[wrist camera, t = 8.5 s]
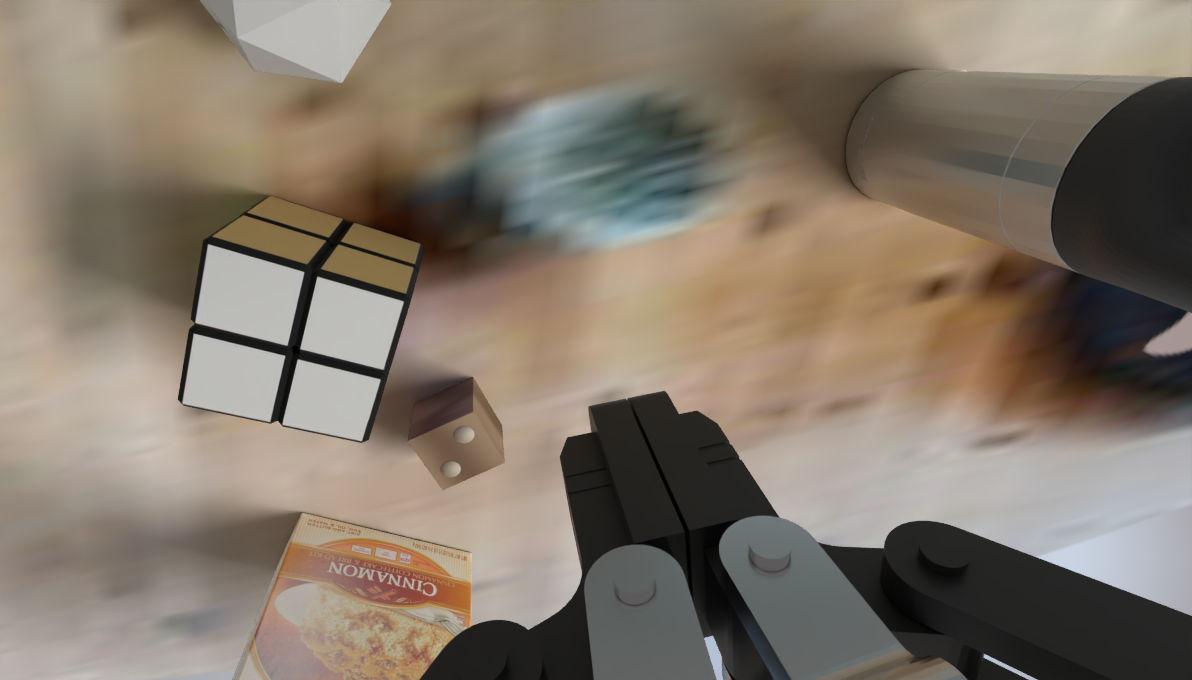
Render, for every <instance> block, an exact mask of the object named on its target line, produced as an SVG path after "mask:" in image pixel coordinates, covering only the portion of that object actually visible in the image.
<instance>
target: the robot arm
mask: <svg viewBox="0 0 1192 680" xmlns="http://www.w3.org/2000/svg"><path fill="white" fill-rule="evenodd" d="M846 164H847V168H848V172H849V175H850V177H851V179H852V181H853V183H854V185H855V186H856V187H857V188H858V189H859V190H860V191H861V192H862V193H863V194H865V195H866V196H868V197H869V198H872V199H875V200H877V201H880V202H883V203H886V204H888V205H891V206H894V207H897V208H899V209H902V210H904V211H907V212H910V213H912V214H915V215H918V216H921V217H923V218H926V219H929V220H932V221H935V222H937V223H940V224H943V225H946V226H949V227H951V228H954V229H957V230H960V231H962V232H965V233H968V234H971V235H974V236H976V237H979V238H982V239H985V240H987V241H990V242H993V243H996V244H999V245H1001V246H1004V247H1007V248H1010V249H1012V250H1015V251H1018V252H1021V253H1024V254H1026V255H1029V256H1033V257H1036V258H1038V259H1041V260H1044V261H1047V262H1050V263H1052V264H1055V265H1058V266H1061V267H1063V268H1066V269H1069V270H1072V271H1075V272H1077V273H1080V274H1083V275H1086V276H1089V277H1092V278H1095V279H1098V280H1101V281H1104V282H1107V283H1110V284H1113V285H1116V286H1119V287H1122V288H1125V289H1127V290H1130V291H1133V292H1136V293H1139V294H1142V295H1145V296H1147V297H1150V298H1153V299H1156V300H1159V301H1161V302H1164V303H1167V304H1170V305H1172V306H1175V307H1178V308H1180V309H1183V310H1186V311H1189V312H1191V313H1192V77H1156V76H1111V75H1078V74H1045V73H1013V72H980V71H958V70H923V69H918V70H911V71H905V72H903V73H900V74H897V75H895V76H893V77H891V78H890V79H888V80H886V81H885V82H883V83H882V84H880V85H879V86H878V87H877V88H876V89H875V90H874V91H873V92H872V93H871V94H870V95H869V96H868V97H867V99H866V100H865V101H864V102H863V104H862V105H861V106H860V108H859V110H858V112H857V114H856V115H855V117H854V119H853V121H852V124H851V127H850V130H849V133H848V137H847V143H846ZM589 418H590V425H591V432H592V433H587V434H582V435H578V436H573V437H568V438H567V440H566V442H565V445H564V447H563V450H562V453H561V455H560V461H561V466H562V472H563V477H564V483H565V488H566V494H567V500H568V505H569V511H570V516H571V521H572V526H573V531H574V536H575V540H576V546H577V550H578V555H579V560H580V565H581V570H582V578H581V581H580V584H579V587H578V589H577V591H576V593H575V594H574V596H573V597H572V599H571V600H570V601H569V602H568V603H567V604H566V606H564V607H563V608H562V609H561V610H560V611H559V612H557V613H556V614H554V615H553V616H551V617H550V618H548V619H547V620H545V621H543V622H541V623H540V624H538V625H536V626H534V627H533V628H531V629H529V630H527V629H526V628H525V627H523V626H521V625H519V624H517V623H514V622H511V621H505V620H491V621H486V622H482V623H479V624H476V625H473V626H471V627H469V628H467V629H465V630H464V631H462V632H461V633H459V634H458V635H456V636H455V637H454V638H453V639H452V640H451V641H450V642H449V643H448V644H447V645H446V646H445V647H444V648H443V649H442V651H441V652H440V653H439V654H438V656H437V657H436V658H435V660H434V661H433V662H432V664H431V665H430V666H429V668H428V669H427V670H426V671H425V673H424V674H423V675H422V677H421V678H420V679H419V680H716V676H715V673H714V670H713V666H712V663H711V660H710V656H709V654H708V650H707V647H706V644H705V640H704V638H705V637H709V636H714V639H715V641H716V644H717V646H718V648H719V651H720V653H721V656H722V676H723V680H1028V679H1026V678H1024V677H1022V676H1019V675H1018V674H1016V673H1013V672H1012V671H1009V670H1007V669H1005V668H1003V667H1001V666H999V665H997V664H995V663H993V662H991V661H989V660H987V659H985V658H983V657H984V654H986V655H988V656H990V657H992V658H995V659H996V660H998V661H1001V662H1002V663H1005V664H1007V665H1009V666H1011V667H1013V668H1015V669H1017V670H1019V671H1021V672H1023V673H1025V674H1027V675H1029V676H1031V677H1034V678H1036V679H1038V680H1192V616H1190V615H1188V614H1185V613H1182V612H1180V611H1177V610H1174V609H1172V608H1169V607H1167V606H1164V605H1161V604H1158V603H1156V602H1153V601H1151V600H1148V599H1145V598H1142V597H1140V596H1137V595H1135V594H1132V593H1129V592H1127V591H1124V590H1121V589H1119V588H1116V587H1113V586H1111V585H1108V584H1105V583H1103V582H1100V581H1098V580H1095V579H1092V578H1090V577H1087V576H1084V575H1081V574H1079V573H1076V572H1073V571H1071V570H1068V569H1065V568H1063V567H1060V566H1057V565H1055V564H1052V563H1050V562H1047V561H1044V560H1042V559H1039V558H1036V557H1034V556H1031V555H1028V554H1026V553H1023V552H1021V551H1018V550H1015V549H1013V548H1010V547H1007V546H1005V545H1002V544H999V543H997V542H994V541H991V540H989V539H986V538H983V537H981V536H978V535H975V534H973V533H970V532H967V531H965V530H962V529H959V528H957V527H954V526H951V525H948V524H944V523H939V522H932V521H914V522H908V523H905V524H902V525H900V526H898V527H896V528H894V529H893V530H892V531H891V532H890V533H889V535H888V536H887V538H886V541H885V544H884V549H883V548H859V547H839V546H831V545H826V544H821V543H818V542H817V541H816V540H815V539H814V538H813V537H812V536H811V535H810V533H809V532H807V531H806V530H805V529H803V528H802V527H801V526H799V525H797V524H795V523H793V522H791V521H789V520H786V519H782V518H780V517H779V516H778V515H777V513H776V512H775V510H774V509H773V507H772V506H771V504H770V503H769V501H768V500H767V498H766V496H765V495H764V493H763V492H762V490H761V489H760V487H759V486H758V484H757V483H756V481H755V480H754V478H753V477H752V475H751V474H750V472H749V471H748V469H747V468H746V466H745V465H744V463H743V462H742V460H740V459H739V456H738V454H737V452H736V451H735V449H734V448H733V446H732V445H730V444H729V440H728V439H727V437H726V436H725V434H724V433H723V431H722V430H721V428H720V427H719V425H718V424H717V423H716V422H714V421H713V420H711V419H709V418H708V417H706V416H705V415H703V414H702V413H700V412H698V411H693V412H688V413H683V414H679V413H678V412H677V410H676V408H675V406H674V405H673V403H672V401H671V399H670V398H669V396H668V394H667V393H666V392H665V391H661V392H656V393H651V394H646V395H641V396H636V397H631V398H628V399H627V400H626V399H622V400H617V401H612V402H607V403H602V404H597V405H592V406H589Z"/></svg>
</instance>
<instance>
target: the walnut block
mask: <svg viewBox="0 0 1192 680" xmlns="http://www.w3.org/2000/svg"><path fill="white" fill-rule="evenodd" d="M408 442H409V443H410V445H411V446H412V448H413V449H414V451H415V452H416V453H417V455H418V456H419V458H420V459H421V460H422V462H423V463H424V465H425V466H426V467H427V469H428V470H429V472H430V473H431V474H432V476H433V477H434V479H435V480H436V481H437V483H438V484H439V486H440V487H441V488H442V490H444V489H446V488H449V487H451V486H453V485H455V484H458V483H460V482H462V481H464V480H467V479H469V478H471V477H473V476H476V475H478V474H480V473H482V472H485V471H487V470H489V469H491V468H494V467H496V466H498V465H500V464H503V463H505V462H504V448H503V434H502V425H501V423H500V421H499V420H498V418H497V416H496V414H495V413H494V411H493V409H492V408H491V406H490V404H489V403H488V401H487V399H486V398H485V396H484V394H483V393H482V391H481V389H480V388H479V386H478V384H477V383H476V381H475V379H474V378H471V379H469V380H466V381H464V382H462V383H460V384H457V385H455V386H453V387H451V388H448V389H446V390H444V391H442V392H439V393H437V394H435V395H433V396H431V397H428V398H426V399H424V400H422V401H419V402H417V403H415V404H414V408H413V414H412V420H411V425H410V431H409V437H408Z"/></svg>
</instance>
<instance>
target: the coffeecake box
mask: <svg viewBox="0 0 1192 680" xmlns="http://www.w3.org/2000/svg"><path fill="white" fill-rule="evenodd" d="M471 556H472V554H471V553H469V552H465V551H461V550H456V549H452V548H448V547H444V546H440V545H436V544H432V543H427V542H423V541H418V540H414V539H410V538H406V537H402V536H398V535H394V534H389V533H385V532H381V531H377V530H373V529H369V528H364V527H360V526H356V525H352V524H348V523H344V522H340V521H336V520H331V519H327V518H323V517H319V516H315V515H311V514H307V513H301V515H300V518H299V520H298V522H297V524H296V526H295V529H294V531H293V533H292V535H291V537H290V539H289V541H288V544H287V546H286V548H285V550H284V552H283V554H282V557H281V559H280V561H279V563H278V566H277V568H276V571H275V573H274V575H273V578H272V580H271V583H270V585H269V588H268V590H267V593H266V595H265V598H264V600H263V603H262V605H261V608H260V610H259V613H258V616H257V618H256V621H255V623H254V626H253V628H252V631H251V633H250V636H249V639H248V641H247V644H246V646H245V649H244V651H243V654H242V656H241V659H240V661H239V664H238V666H237V669H236V671H235V674H234V676H233V679H232V680H419V679H420V678H421V677H422V675H423V674H424V673H425V671H426V670H427V669H428V668H429V666H430V665H431V664H432V662H433V661H434V660H435V658H436V657H437V656H438V654H439V653H440V652H441V651H442V649H443V648H444V647H445V646H446V645H447V644H448V643H449V642H450V641H451V640H452V639H453V638H454V637H455V636H456V635H458V634H459V633H461V632H462V631H464V630H465V629H467V628H469V627H471Z"/></svg>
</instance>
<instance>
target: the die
mask: <svg viewBox="0 0 1192 680" xmlns="http://www.w3.org/2000/svg"><path fill="white" fill-rule="evenodd" d="M200 2H201V3H202V4H203V6H204V7H205V8H206V9H207V11H208V12H209V13H210V15H211V16H212V17H213V18H214V20H215V21H216V22H217V24H218V25H219V26H220V27H221V29H222V30H223V31H224V33H225V34H226V35H227V36H228V38H229V39H230V40H231V42H232V43H233V44H234V45H235V47H236V48H237V49H238V50H239V52H240V53H241V54H242V56H243V57H244V58H245V59H246V61H247V62H248V63H249V65H250V66H251V67H252V68H253V70H254V71H261V72H268V73H275V74H282V75H289V76H296V77H303V78H310V79H317V80H324V81H331V82H338V83H342V82H343V80H344V79H345V77H346V76H347V74H348V72H349V71H350V69H351V68H352V66H353V65H354V63H355V61H356V60H357V58H358V57H359V55H360V53H361V52H362V50H363V49H364V47H365V45H366V44H367V42H368V41H369V39H370V38H371V36H372V34H373V33H374V31H375V30H376V28H377V26H378V25H379V23H380V22H381V20H382V18H383V17H384V15H385V14H386V12H387V11H388V9H389V7H390V6H391V2H390V1H389V0H200Z"/></svg>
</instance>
